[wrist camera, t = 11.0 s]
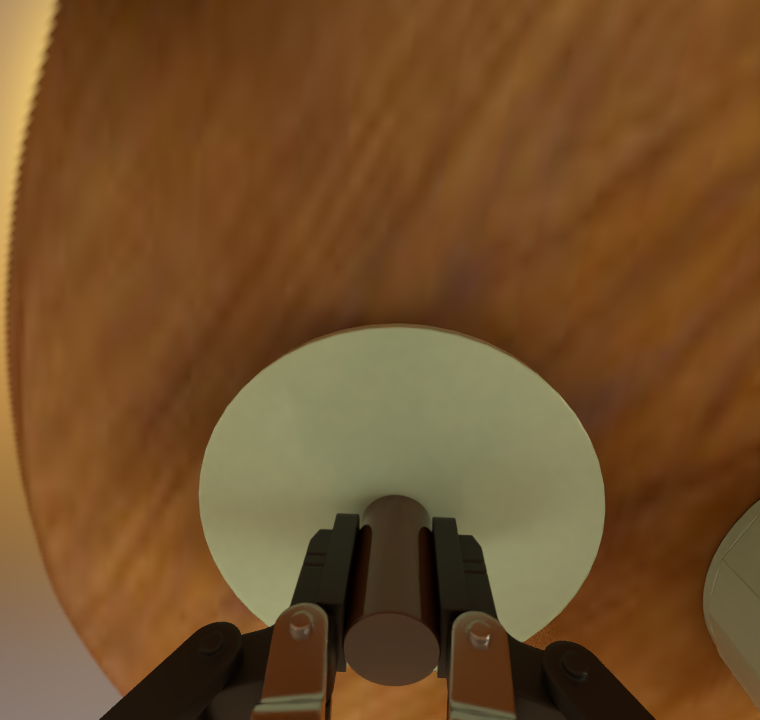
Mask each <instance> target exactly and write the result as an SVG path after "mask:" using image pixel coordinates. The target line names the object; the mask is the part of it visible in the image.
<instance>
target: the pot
mask: <svg viewBox="0 0 760 720" xmlns="http://www.w3.org/2000/svg"><path fill="white" fill-rule="evenodd" d="M703 611H704V617H705V623H706V626H707V628H708V631H709V634H710V637H711V638H712V640H713V642H714V644H715V645H716V647H717V649H718V653H719V655H720V657H721V659H722V660H723V661H724V663H725V664H726V666H727V667H728V668H729V670H730V671H731V673H732V674H733V675H734V677H735V678H736V680H737V681H738V682H739V684H740V685H741V687H742V688H743V689H744V691H745V692H746V694H747V695H748V696H749V698H750V699H751V700H752V702H753V703H754V705H755V706H756V707H757V709H758V710H759V712H760V500H758V501H757V502H756V503H755V504H754V505H753V506H751V507H750V508H749V509H748V510H747V511H746V512H745V513H744V514H743V515H742V517H741V518H740V519H739V520H738V521H737V522H736V523H735V524H734V525H733V527H732V528H731V529H730V531H729V532H728V533H727V535H726V536H725V538H724V539H723V540H722V542H721V544H720V545H719V547H718V549H717V551H716V553H715V555H714V556H713V558H712V561H711V564H710V566H709V569H708V572H707V575H706V579H705V584H704V590H703Z"/></svg>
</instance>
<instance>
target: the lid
mask: <svg viewBox="0 0 760 720" xmlns="http://www.w3.org/2000/svg"><path fill="white" fill-rule="evenodd" d="M199 507H200V518H201V522H202V527H203V531H204V536H205V539H206V542H207V544H208V547H209V550H210V552H211V555H212V558H213V560H214V562H215V563H216V565H217V567H218V569H219V571H220V573H221V574H222V576H223V578H224V579H225V581H226V582H227V584H228V585H229V586H230V588H231V589H232V591H233V592H234V593H235V595H236V596H237V597H238V598H239V599H240V600H241V601H242V602H243V604H244V605H245V606H246V607H247V608H248V609H249V610H250V611H251V612H252V613H253V614H254V615H255V616H257V617H258V618H259V619H260V620H261V621H262V622H264V623H265V624H266V625H267V626H268V627H270V626H272V625H273V624H275V622H276V620H277V618H278V617H279V615H280V614H281V613H282V612H283V611H284V610H286V609H287V608H289V606H290V604H291V600H292V597H293V594H294V591H295V587H296V584H297V581H298V578H299V574H300V571H301V568H302V566H303V561H304V558H305V555H306V552H307V548H308V545H309V542H310V539H311V538H312V537H313V536H314V535H315V534H316V533H317V532H318V530H319V529H333V526H334V522H335V518H336V515H337V513H345V514H359V517H360V532H359V539H358V545H357V552H356V558H355V565H354V571H353V577H352V584H351V590H350V597H349V603H348V610H347V616H346V622H345V629H344V634H343V640H342V650H343V654H344V657H345V659H346V661H347V665H349V666H350V667H351V668H352V669H353V670H354V671H355V672H356V673H357V674H358V675H360V676H361V677H363V678H365V679H366V680H369V681H371V682H374V683H377V684H381V685H386V686H404V685H409V684H413V683H416V682H418V681H420V680H422V679H424V678H426V677H427V676H428V675H430V674H431V673H432V672H433V671H437V665H438V663H439V660H440V657H441V640H440V633H439V620H438V607H437V594H436V581H435V568H434V555H433V542H432V518H433V517H450V518H455V519H456V524H457V531H458V535H473V537H474V538H475V539H476V541H477V542H478V543H479V544H480V546H481V547H482V551H483V556H484V560H485V565H486V569H487V574H488V578H489V582H490V587H491V591H492V595H493V600H494V604H495V609H496V613H497V617H498V620H499V622H500V623H501V624H502V625H503V627H504V629H505V630H506V632H507V633H509V634H510V635H511V636H512V637H513V638H515V639H516V640H518V641H520V642H524V641H526V640H527V639H529V638H530V637H532V636H533V635H534V634H536V633H537V632H539V631H540V630H541V629H543V628H544V627H545V626H547V625H548V624H549V623H550V622H551V621H552V620H553V619H554V618H555V617H556V616H557V615H558V614H560V613H561V612H562V611H563V609H564V608H565V607H566V606H567V605H568V603H569V602H570V601H571V600H572V599H573V597H574V596H575V595H576V594H577V592H578V591H579V589H580V587H581V586H582V584H583V582H584V581H585V579H586V578H587V576H588V574H589V572H590V570H591V567H592V565H593V563H594V560H595V558H596V556H597V553H598V549H599V546H600V542H601V538H602V534H603V528H604V518H605V492H604V482H603V477H602V473H601V468H600V464H599V460H598V457H597V455H596V452H595V450H594V447H593V445H592V442H591V440H590V437H589V436H588V434H587V432H586V430H585V429H584V427H583V425H582V424H581V422H580V420H579V419H578V417H577V415H576V414H575V413H574V411H573V410H572V409H571V408H570V407H569V405H568V404H567V403H566V402H565V400H564V399H563V398H562V397H561V396H560V394H559V393H558V392H557V391H556V390H555V389H554V388H553V387H552V386H551V385H550V384H549V383H548V382H547V381H546V380H545V379H544V378H542V377H541V376H540V375H539V374H538V373H537V372H536V371H535V370H534V369H532V368H531V367H529V366H528V365H526V364H525V363H523V362H522V361H520V360H519V359H518V358H516V357H515V356H513V355H512V354H510V353H508V352H506V351H504V350H502V349H500V348H498V347H496V346H494V345H492V344H490V343H488V342H486V341H484V340H481V339H478V338H475V337H472V336H469V335H466V334H463V333H461V332H458V331H453V330H448V329H443V328H439V327H434V326H429V325H417V324H403V323H391V324H373V325H365V326H359V327H354V328H348V329H343V330H339V331H336V332H333V333H330V334H327V335H324V336H320V337H317V338H314V339H312V340H310V341H308V342H306V343H304V344H302V345H300V346H298V347H295V348H293V349H291V350H289V351H288V352H286V353H285V354H283V355H282V356H280V357H279V358H277V359H276V360H274V361H273V362H271V363H270V364H268V365H267V366H266V367H264V368H263V369H262V370H261V371H260V372H259V373H258V374H257V375H256V376H254V377H253V378H252V379H251V380H250V381H249V382H248V383H247V384H246V385H245V386H244V387H243V388H242V389H241V390H240V391H239V393H238V394H237V395H236V396H235V397H234V399H233V400H232V401H231V402H230V404H229V405H228V406H227V407H226V409H225V411H224V412H223V414H222V416H221V417H220V419H219V421H218V422H217V424H216V426H215V427H214V430H213V432H212V435H211V437H210V440H209V442H208V444H207V447H206V449H205V454H204V458H203V462H202V467H201V471H200V483H199Z"/></svg>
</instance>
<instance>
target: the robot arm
mask: <svg viewBox="0 0 760 720" xmlns="http://www.w3.org/2000/svg"><path fill="white" fill-rule="evenodd" d="M359 532H360V517H359V514H345V513H337V515H336V518H335V522H334V526H333V529H319V530H318V532H317V533H316V534H315V535H314V536H313V537H312V538H311V539H310V542H309V545H308V548H307V552H306V555H305V558H304V561H303V566H302V568H301V571H300V574H299V578H298V581H297V584H296V587H295V591H294V594H293V597H292V600H291V604H290V606H289V608H287V609H286V610H284V611H283V612H282V613H281V614H280V615H279V617H278V618H277V620H276V622H275V624H273V625H272V626H270V627H268V628H265V629H262V630H259V631H255V632H251V633H247V634H243V635H241V633H240V631H239V629H238V628H237V627H236V626H235V625H233V624H231V623H228V622H215V623H211V624H209V625H206V626H204V627H202V628H201V629H199V630H198V631H196V632H195V633H194V634H193V635H192V636H190V637H189V638H188V639H187V640H186V641H185V642H184V643H183V644H182V645H181V646H180V647H178V648H177V649H176V650H175V651H174V652H173V653H172V654H171V655H170V656H169V657H167V658H166V659H165V660H164V661H163V662H162V663H161V664H160V665H159V666H158V667H156V668H155V669H154V670H153V671H152V672H151V673H150V674H149V675H148V676H147V677H145V678H144V679H143V680H142V681H141V682H140V683H139V684H138V685H137V686H136V687H134V688H133V689H132V690H131V691H130V692H129V693H128V694H127V695H126V696H125V697H123V698H122V699H121V700H120V701H119V702H118V703H117V704H116V705H115V706H114V707H113V708H111V709H110V710H109V711H108V712H107V713H106V714H105V715H104V716H103V717H102V718H100V719H99V720H331V715H332V693H333V688H334V682H335V676H336V671H338V672H346V665H347V661H346V659H345V657H344V654H343V650H342V640H343V634H344V629H345V622H346V616H347V610H348V603H349V597H350V590H351V584H352V577H353V571H354V565H355V558H356V552H357V545H358V539H359ZM432 542H433V555H434V568H435V581H436V594H437V607H438V620H439V633H440V640H441V657H440V660H439V663H438V665H437V675H438V678H447V689H448V700H447V720H656V719H655V718H654V717H653V716H652V715H651V714H650V713H649V712H648V711H647V710H646V709H645V708H644V707H643V706H642V705H641V704H640V702H639V701H638V700H637V699H636V698H635V697H634V696H633V695H632V694H631V693H630V692H629V691H628V690H627V689H626V688H625V687H624V686H623V685H622V684H621V682H620V681H619V680H618V679H617V678H616V677H615V676H614V675H613V674H612V673H611V672H610V671H609V670H608V669H607V668H606V667H605V666H604V665H603V664H602V663H601V661H600V660H599V659H598V658H597V657H596V656H595V655H594V654H593V653H591V652H590V651H589V650H587V649H586V648H584V647H583V646H581V645H578V644H576V643H573V642H569V641H556V642H553V643H551V644H550V645H548V646H547V647H546V649H545V651H543V650H540V649H538V648H535V647H532V646H529V645H526V644H524V643H522V642H520V641H518V640H516V639H515V638H513V637H512V636H511V635H510V634H509V633H507V632H506V630H505V629H504V627H503V625H502V624H501V623H500V622H499V620H498V617H497V613H496V609H495V604H494V600H493V595H492V591H491V587H490V582H489V578H488V574H487V569H486V565H485V560H484V556H483V551H482V547H481V546H480V544H479V543H478V542H477V541H476V539H475V538H474V537H473V535H458V531H457V524H456V519H455V518H450V517H433V518H432Z"/></svg>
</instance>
